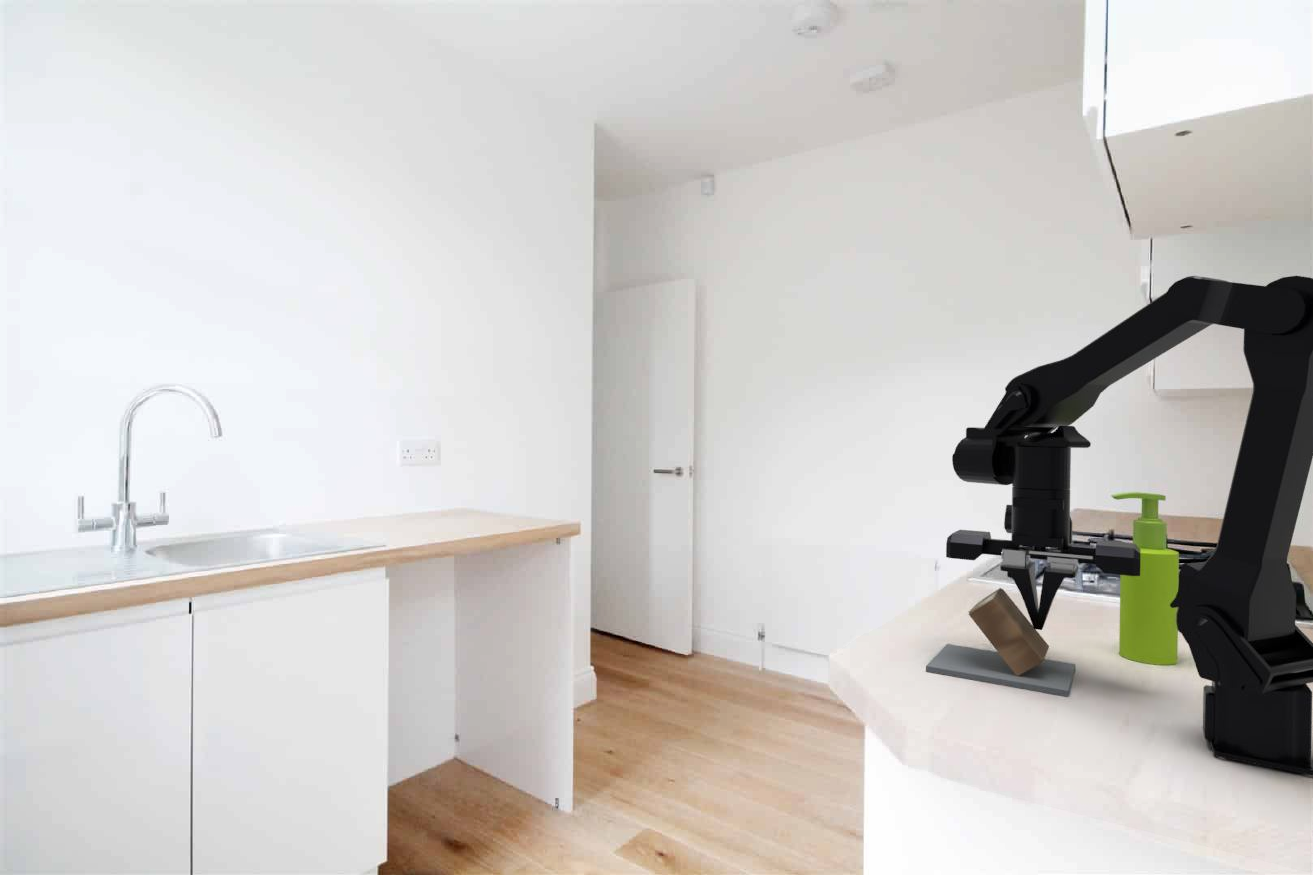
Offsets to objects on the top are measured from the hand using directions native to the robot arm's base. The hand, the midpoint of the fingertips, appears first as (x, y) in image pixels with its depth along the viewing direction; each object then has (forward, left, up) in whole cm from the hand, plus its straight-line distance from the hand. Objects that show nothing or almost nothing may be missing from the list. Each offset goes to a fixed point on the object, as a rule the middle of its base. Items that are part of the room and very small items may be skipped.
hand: (1038, 628), depth 82 cm
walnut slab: (0, 0, -4) cm, 4 cm away
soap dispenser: (-10, -16, -6) cm, 20 cm away
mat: (+4, 0, -5) cm, 6 cm away
